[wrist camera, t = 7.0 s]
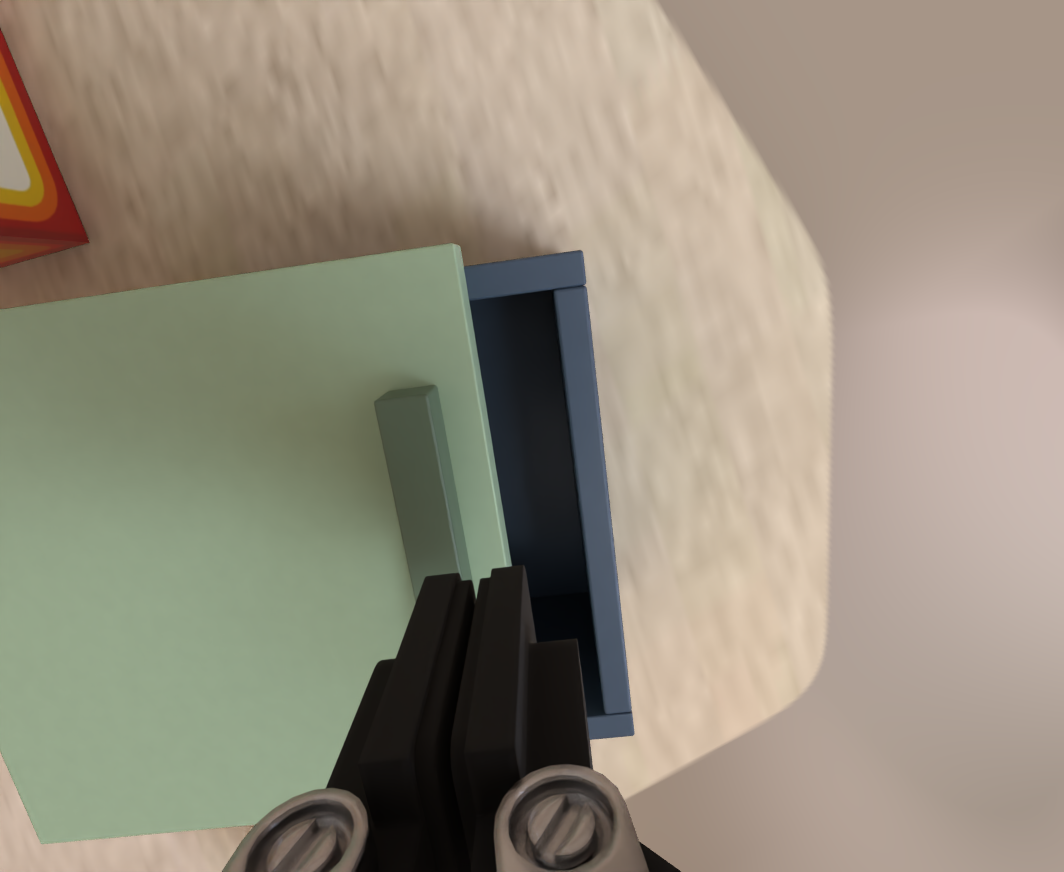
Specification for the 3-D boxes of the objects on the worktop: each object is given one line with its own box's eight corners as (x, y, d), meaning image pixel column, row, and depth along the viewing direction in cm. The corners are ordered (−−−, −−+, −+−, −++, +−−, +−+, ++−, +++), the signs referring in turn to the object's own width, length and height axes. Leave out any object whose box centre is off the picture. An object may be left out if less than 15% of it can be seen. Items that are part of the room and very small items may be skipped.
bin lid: (-137, 332, 15) (-253, 341, 13) (460, 245, 14) (445, 239, 12) (66, 815, 18) (4, 885, 16) (545, 770, 18) (544, 838, 16)
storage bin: (203, 310, 22) (29, 327, 15) (570, 258, 21) (582, 249, 14) (290, 632, 25) (185, 778, 18) (608, 599, 25) (634, 736, 17)
